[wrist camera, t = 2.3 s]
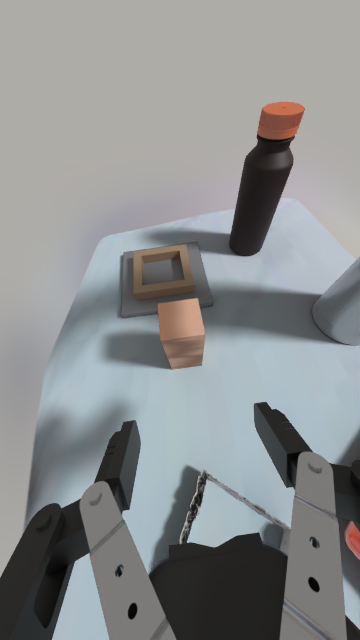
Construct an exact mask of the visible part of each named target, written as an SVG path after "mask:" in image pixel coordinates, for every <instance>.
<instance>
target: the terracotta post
mask: <svg viewBox="0 0 360 640" xmlns="http://www.w3.org/2000/svg"><path fill="white" fill-rule="evenodd" d="M158 315H159V328H160V340H161V343H162V346H163V348H164V351H165V353H166V356H167V358H168V361H169V363H170V366H171V368H172V370H173V369H180V368H187V367H194V366H201V365H202V359H203V351H204V342H205V330H204V325H203V321H202V316H201V311H200V306H199V302H198V298H195V299H187V300H180V301H173V302H166V303H159V304H158Z"/></svg>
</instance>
